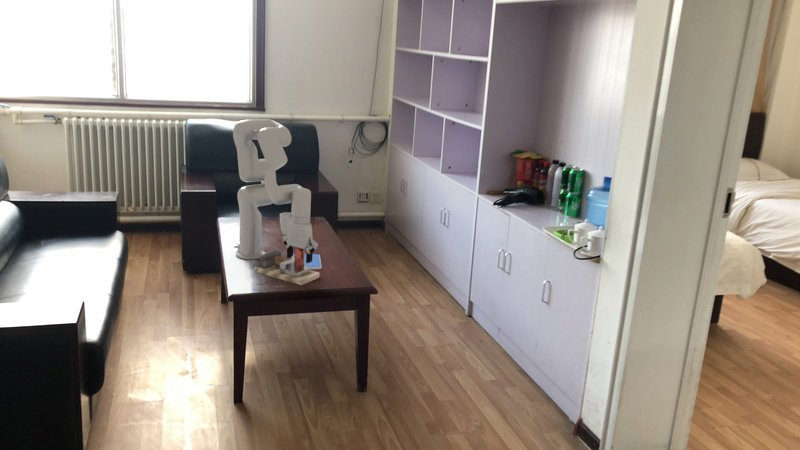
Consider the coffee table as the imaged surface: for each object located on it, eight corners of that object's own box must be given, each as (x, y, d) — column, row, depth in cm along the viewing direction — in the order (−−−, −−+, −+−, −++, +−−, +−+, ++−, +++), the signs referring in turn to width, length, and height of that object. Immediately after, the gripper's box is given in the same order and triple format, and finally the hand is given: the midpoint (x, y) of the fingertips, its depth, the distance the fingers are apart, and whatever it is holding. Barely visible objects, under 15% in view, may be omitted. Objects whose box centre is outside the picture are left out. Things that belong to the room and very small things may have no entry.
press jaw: (279, 271, 277) (280, 244, 274) (293, 266, 284) (294, 239, 281) (297, 276, 273) (297, 249, 270) (310, 271, 280) (311, 244, 277)
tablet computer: (291, 255, 306) (291, 253, 306) (319, 256, 308) (320, 253, 308) (292, 270, 288) (292, 267, 288) (321, 270, 290) (322, 267, 290)
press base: (257, 272, 281) (257, 256, 279) (275, 265, 291) (276, 249, 289) (301, 285, 270) (302, 268, 268) (319, 277, 280) (320, 261, 279)
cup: (298, 235, 336) (299, 215, 333) (283, 237, 332) (284, 217, 329) (291, 231, 342) (292, 211, 340) (276, 232, 338) (277, 213, 335)
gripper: (277, 216, 272) (276, 257, 277) (312, 225, 264) (310, 266, 269) (289, 213, 279) (288, 253, 283) (323, 221, 271) (322, 262, 275)
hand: (299, 259), depth 276 cm, fingers open, 9 cm apart
